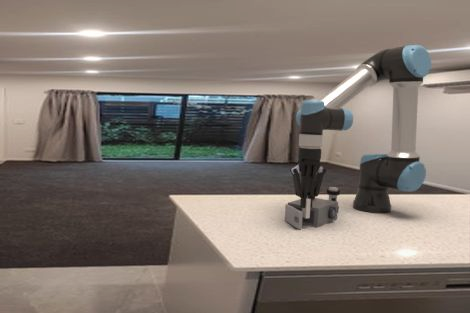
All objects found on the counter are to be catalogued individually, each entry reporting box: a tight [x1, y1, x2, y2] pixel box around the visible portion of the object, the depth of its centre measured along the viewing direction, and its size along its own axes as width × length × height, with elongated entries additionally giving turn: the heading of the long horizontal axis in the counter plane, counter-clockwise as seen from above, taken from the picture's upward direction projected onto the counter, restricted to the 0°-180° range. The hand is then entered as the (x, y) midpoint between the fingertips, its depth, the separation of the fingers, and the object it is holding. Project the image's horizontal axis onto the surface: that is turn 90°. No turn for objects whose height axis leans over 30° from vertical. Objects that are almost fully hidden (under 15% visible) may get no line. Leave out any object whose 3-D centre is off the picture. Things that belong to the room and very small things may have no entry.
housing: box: [287, 197, 339, 228], centre depth 145 cm, size 16×13×7 cm
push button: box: [326, 186, 341, 212], centre depth 157 cm, size 7×5×10 cm
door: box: [284, 203, 303, 230], centre depth 137 cm, size 2×12×6 cm, turn 17°
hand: (305, 217), depth 135 cm, fingers closed
